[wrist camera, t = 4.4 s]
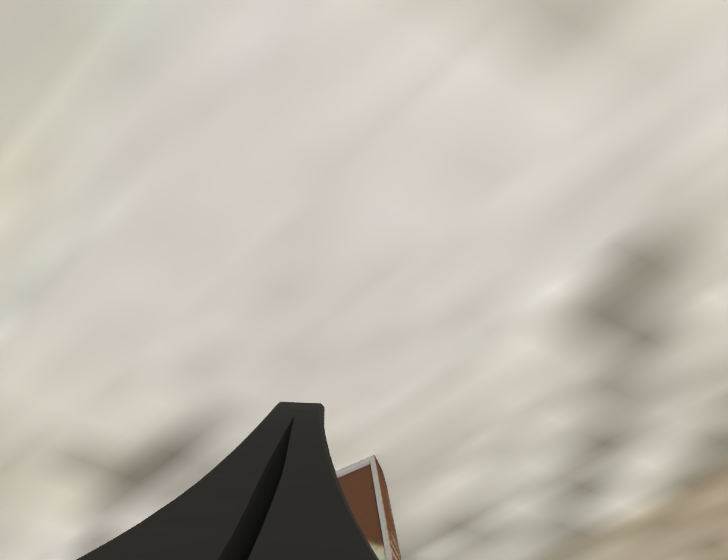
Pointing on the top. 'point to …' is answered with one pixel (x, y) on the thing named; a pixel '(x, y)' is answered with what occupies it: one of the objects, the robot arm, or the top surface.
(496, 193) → the top surface
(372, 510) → the food container
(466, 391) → the top surface
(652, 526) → the top surface
